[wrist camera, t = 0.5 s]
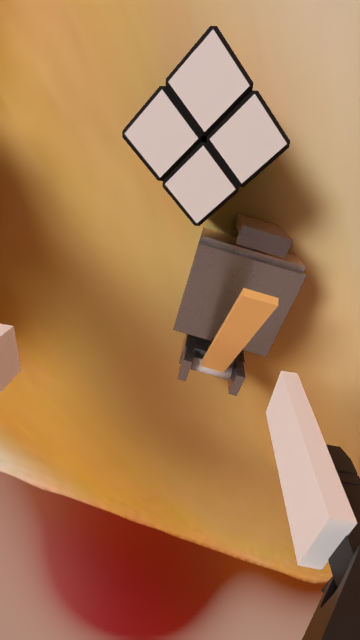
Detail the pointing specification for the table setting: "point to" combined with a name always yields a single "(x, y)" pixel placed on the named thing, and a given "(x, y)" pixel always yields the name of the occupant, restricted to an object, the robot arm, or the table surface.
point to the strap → (236, 332)
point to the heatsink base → (236, 288)
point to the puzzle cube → (206, 129)
